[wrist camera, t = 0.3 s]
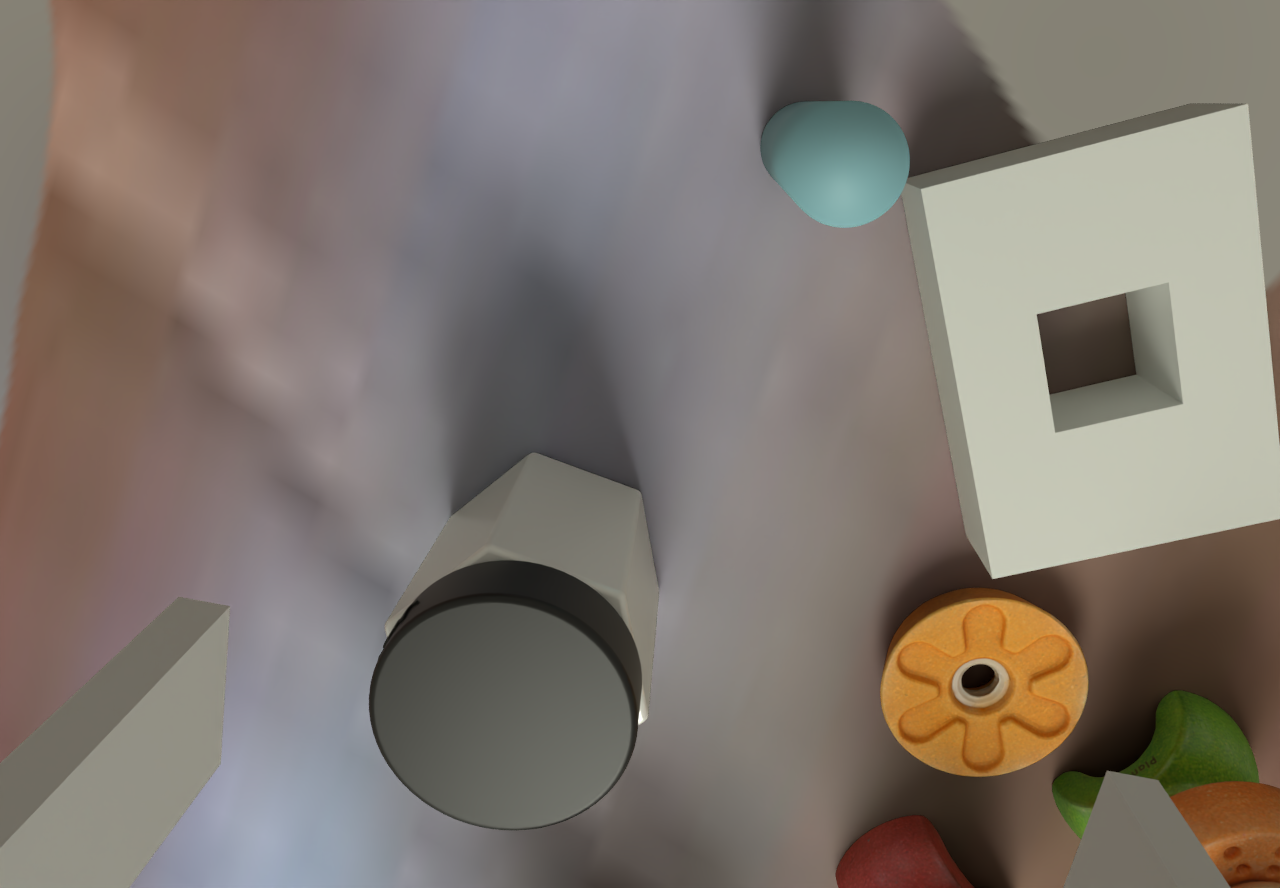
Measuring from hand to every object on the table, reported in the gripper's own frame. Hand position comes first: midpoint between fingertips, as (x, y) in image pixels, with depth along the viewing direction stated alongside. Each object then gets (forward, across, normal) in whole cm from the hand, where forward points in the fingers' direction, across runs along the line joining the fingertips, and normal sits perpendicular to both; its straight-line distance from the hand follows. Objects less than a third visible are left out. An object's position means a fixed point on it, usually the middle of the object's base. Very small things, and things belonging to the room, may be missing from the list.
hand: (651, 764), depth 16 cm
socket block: (+25, +14, +4) cm, 29 cm away
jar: (+26, -4, -9) cm, 27 cm away
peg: (+25, +3, +9) cm, 27 cm away
